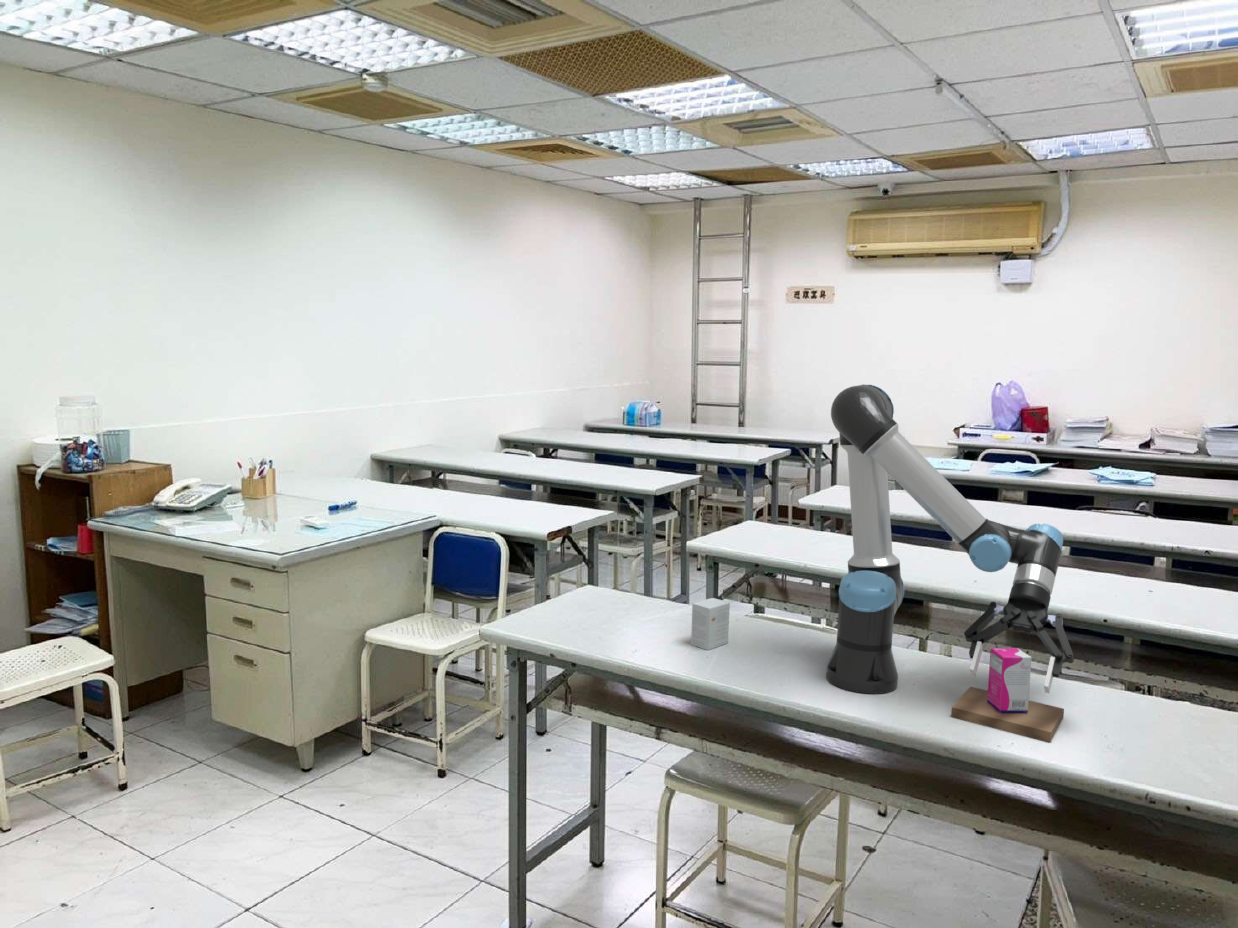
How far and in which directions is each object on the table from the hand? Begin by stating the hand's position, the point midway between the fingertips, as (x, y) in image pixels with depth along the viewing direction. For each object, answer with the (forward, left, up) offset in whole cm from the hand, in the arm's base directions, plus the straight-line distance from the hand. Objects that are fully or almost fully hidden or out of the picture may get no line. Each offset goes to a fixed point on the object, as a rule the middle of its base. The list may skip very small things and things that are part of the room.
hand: (1008, 681), depth 169 cm
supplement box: (0, +2, -6) cm, 7 cm away
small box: (-68, +1, -8) cm, 69 cm away
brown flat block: (0, +2, -8) cm, 8 cm away
